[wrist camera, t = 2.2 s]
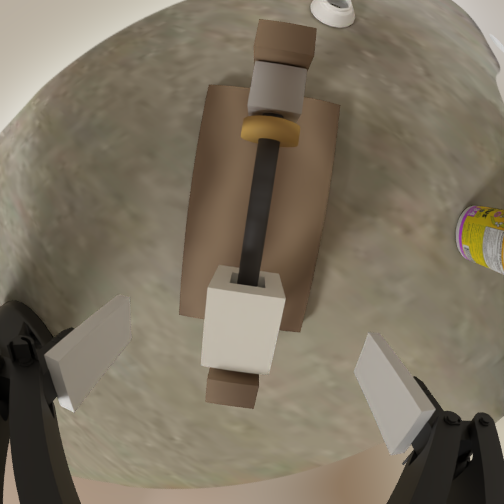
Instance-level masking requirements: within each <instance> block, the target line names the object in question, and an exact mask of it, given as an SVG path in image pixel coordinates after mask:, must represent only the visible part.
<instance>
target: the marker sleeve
mask: <svg viewBox="0 0 504 504" xmlns="http://www.w3.org/2000/svg"><path fill="white" fill-rule="evenodd" d="M238 273H239V268H237V267H230V266H224V265H219V266H218V268H217V270H216V272H215V274H214V276H213V278H212V280H211V282H210V284H209V286H208V289H207V299H206V309H205V320H204V331H203V343H202V356H201V366H206V367H212V368H218V369H224V370H231V371H238V372H245V373H254V374H262V375H269V372H270V367H271V363H272V359H273V355H274V350H275V346H276V341H277V337H278V332H279V328H280V323H281V319H282V314H283V309H284V304H285V300H286V298H285V294H284V291H283V287H282V283H281V279H280V276H279V274H278V273H271V272H264V271H260V274H259V280H258V286H257V287H254V286H247V285H241V284H237V280H238Z"/></svg>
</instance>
